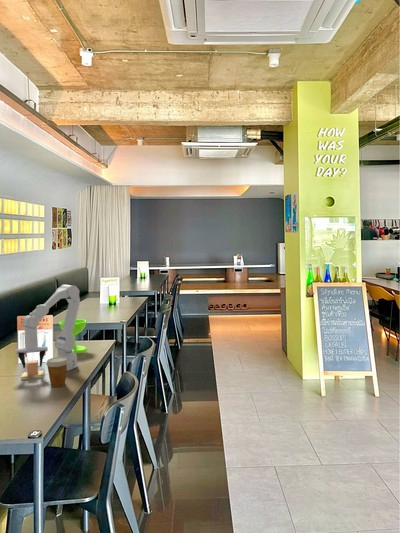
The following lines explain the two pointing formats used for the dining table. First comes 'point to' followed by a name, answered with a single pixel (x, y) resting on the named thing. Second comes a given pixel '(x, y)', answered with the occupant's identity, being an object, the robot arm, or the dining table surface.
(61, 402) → the dining table surface
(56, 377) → the disposable coffee cup
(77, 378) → the dining table surface
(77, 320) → the wineglass
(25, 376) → the birch board
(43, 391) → the dining table surface
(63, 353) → the robot arm
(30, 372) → the terracotta block
